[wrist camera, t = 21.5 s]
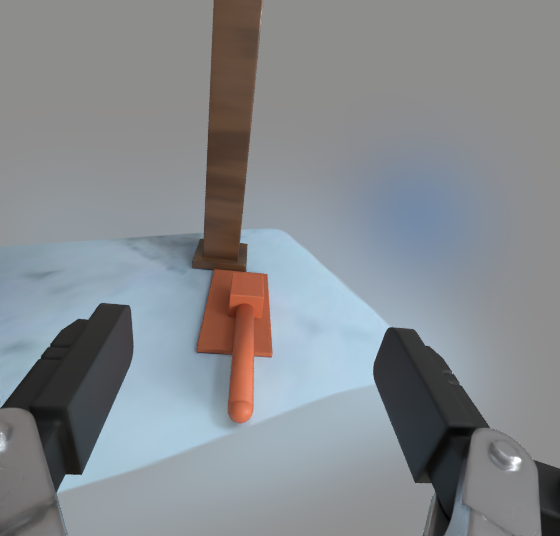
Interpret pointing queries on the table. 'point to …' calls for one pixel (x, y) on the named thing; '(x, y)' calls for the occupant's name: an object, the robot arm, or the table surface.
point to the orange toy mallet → (243, 342)
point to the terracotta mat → (231, 319)
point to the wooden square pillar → (229, 132)
